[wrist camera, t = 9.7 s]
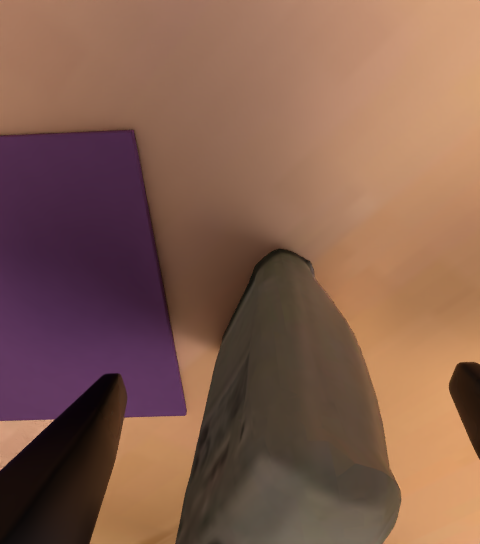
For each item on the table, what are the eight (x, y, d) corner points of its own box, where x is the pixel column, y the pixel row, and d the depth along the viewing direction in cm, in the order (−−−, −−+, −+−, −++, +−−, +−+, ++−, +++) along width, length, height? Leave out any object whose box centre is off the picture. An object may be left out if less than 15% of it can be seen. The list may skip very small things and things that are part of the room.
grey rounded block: (174, 247, 11) (64, 533, 4) (332, 218, 10) (514, 489, 4) (214, 367, 14) (190, 656, 7) (340, 349, 13) (448, 641, 6)
